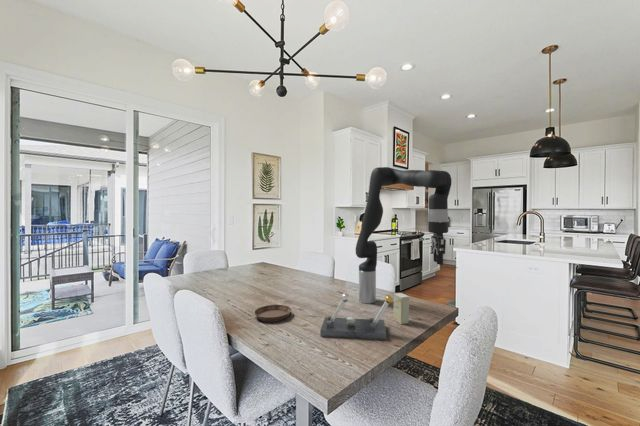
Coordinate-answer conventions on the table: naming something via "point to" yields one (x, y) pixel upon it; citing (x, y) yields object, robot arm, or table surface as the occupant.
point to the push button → (351, 320)
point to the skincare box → (401, 308)
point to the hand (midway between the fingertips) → (438, 262)
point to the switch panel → (353, 329)
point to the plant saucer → (272, 312)
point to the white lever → (344, 299)
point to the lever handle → (383, 308)
